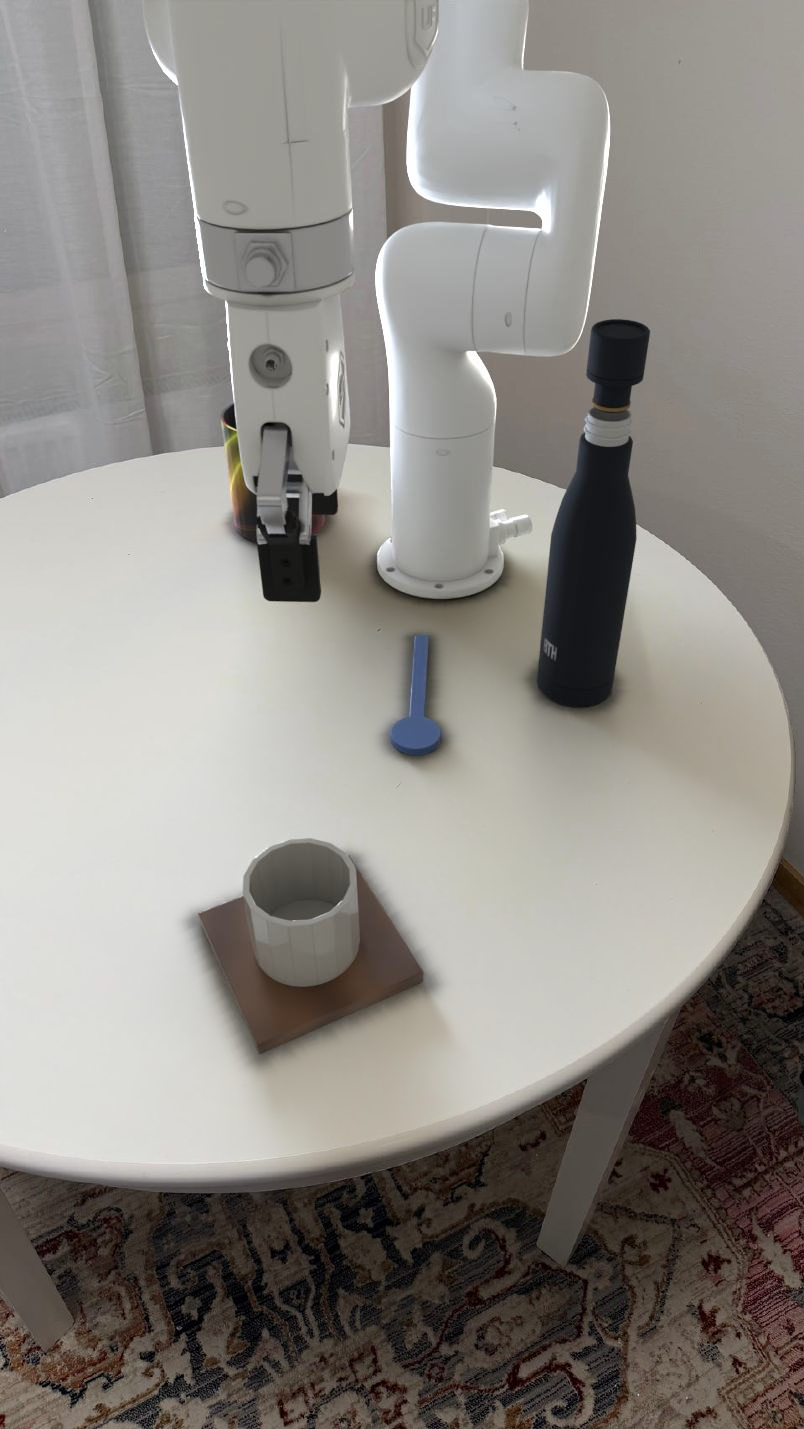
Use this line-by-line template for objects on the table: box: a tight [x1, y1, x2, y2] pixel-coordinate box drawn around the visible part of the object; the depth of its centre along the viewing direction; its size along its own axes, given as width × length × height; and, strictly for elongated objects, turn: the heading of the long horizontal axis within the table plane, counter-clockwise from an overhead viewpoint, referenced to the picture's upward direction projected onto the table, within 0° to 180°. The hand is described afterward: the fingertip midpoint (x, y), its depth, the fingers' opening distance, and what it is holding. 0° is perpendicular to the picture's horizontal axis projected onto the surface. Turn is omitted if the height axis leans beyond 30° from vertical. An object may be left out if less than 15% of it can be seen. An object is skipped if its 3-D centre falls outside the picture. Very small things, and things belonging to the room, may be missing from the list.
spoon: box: [390, 634, 442, 756], centre depth 85 cm, size 16×4×1 cm, turn 177°
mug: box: [220, 402, 326, 543], centre depth 105 cm, size 10×14×12 cm
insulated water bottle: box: [536, 318, 651, 708], centre depth 76 cm, size 6×6×30 cm
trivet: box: [197, 854, 424, 1055], centre depth 65 cm, size 11×11×1 cm
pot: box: [242, 837, 360, 987], centre depth 62 cm, size 7×7×6 cm
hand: (303, 553), depth 60 cm, fingers open, 9 cm apart
